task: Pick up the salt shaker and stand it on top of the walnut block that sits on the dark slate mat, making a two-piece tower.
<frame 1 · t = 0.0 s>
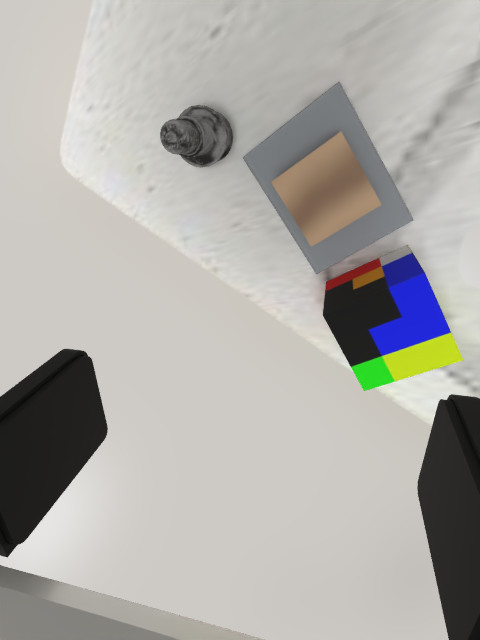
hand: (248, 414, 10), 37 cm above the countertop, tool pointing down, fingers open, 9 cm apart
puzzle toy: (382, 298, 46), on the countertop
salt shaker: (210, 137, 43), on the countertop
base block: (326, 188, 41), point 1 cm above the countertop, touching slate mat
slate mat: (326, 187, 42), on the countertop
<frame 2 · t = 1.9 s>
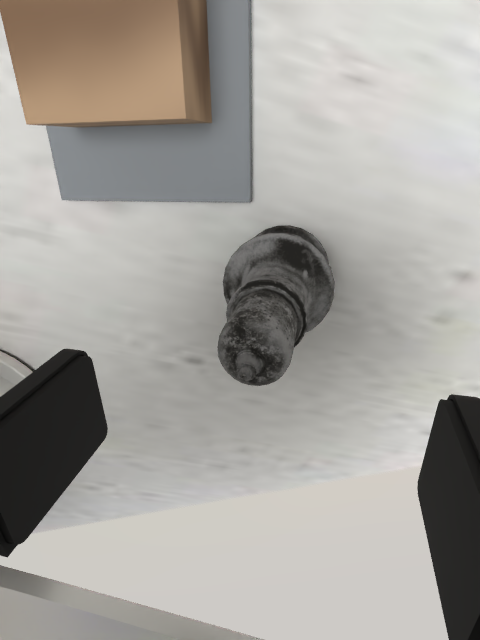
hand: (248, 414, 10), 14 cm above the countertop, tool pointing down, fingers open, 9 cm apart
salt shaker: (284, 268, 23), on the countertop
base block: (131, 35, 19), point 1 cm above the countertop, touching slate mat
slate mat: (136, 38, 19), on the countertop
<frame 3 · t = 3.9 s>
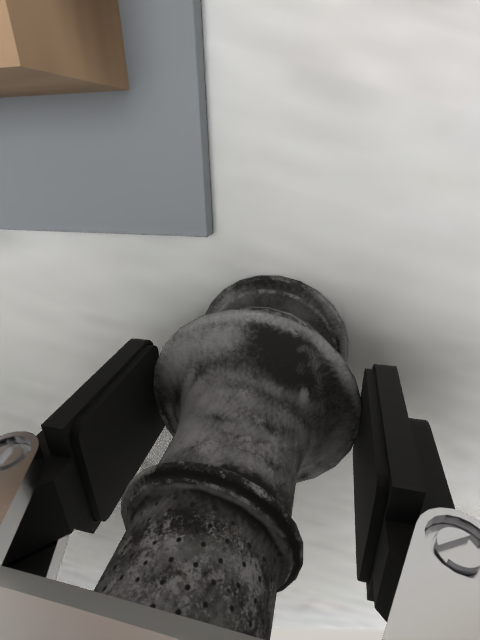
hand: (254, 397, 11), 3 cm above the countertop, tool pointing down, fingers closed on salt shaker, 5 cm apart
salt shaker: (272, 342, 14), on the countertop, touching gripper
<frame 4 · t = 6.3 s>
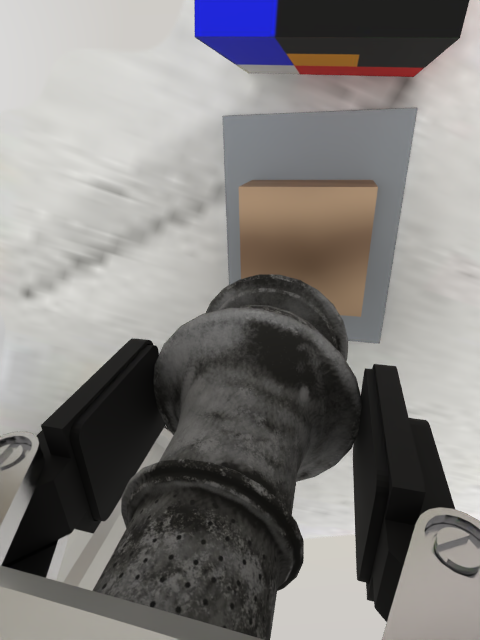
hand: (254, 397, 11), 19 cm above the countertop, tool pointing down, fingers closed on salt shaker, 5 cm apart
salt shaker: (272, 341, 14), point 16 cm above the countertop, touching gripper
base block: (307, 238, 27), point 1 cm above the countertop, touching slate mat
slate mat: (307, 236, 27), on the countertop
when the fingers open (9 cm above the countertop, at t = 9.0 s): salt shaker drops 1 cm, resting on base block.
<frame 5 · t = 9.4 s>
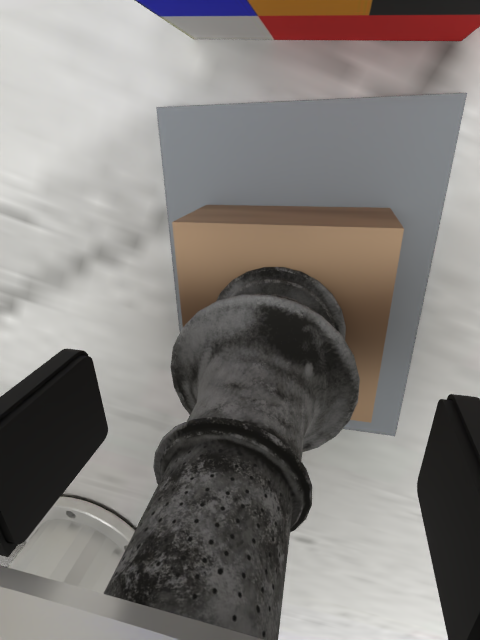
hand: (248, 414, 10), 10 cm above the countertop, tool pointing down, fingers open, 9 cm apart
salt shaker: (276, 329, 15), point 4 cm above the countertop, touching base block
base block: (289, 291, 18), point 1 cm above the countertop, touching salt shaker, slate mat
slate mat: (291, 286, 19), on the countertop
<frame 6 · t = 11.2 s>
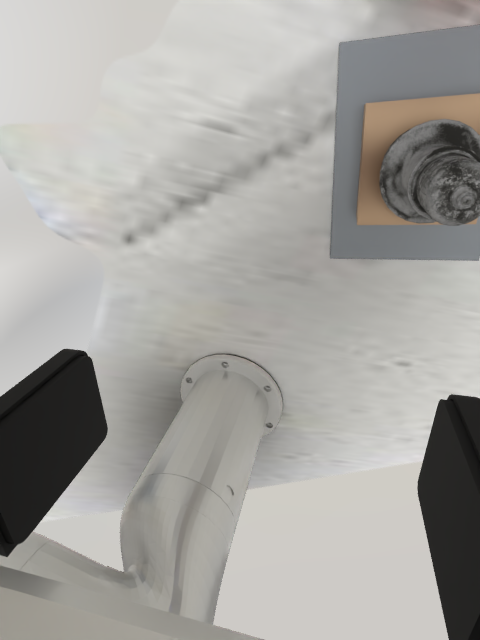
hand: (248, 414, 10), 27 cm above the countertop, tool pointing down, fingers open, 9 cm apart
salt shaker: (421, 167, 26), point 4 cm above the countertop, touching base block
base block: (414, 159, 29), point 1 cm above the countertop, touching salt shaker, slate mat
slate mat: (413, 159, 29), on the countertop
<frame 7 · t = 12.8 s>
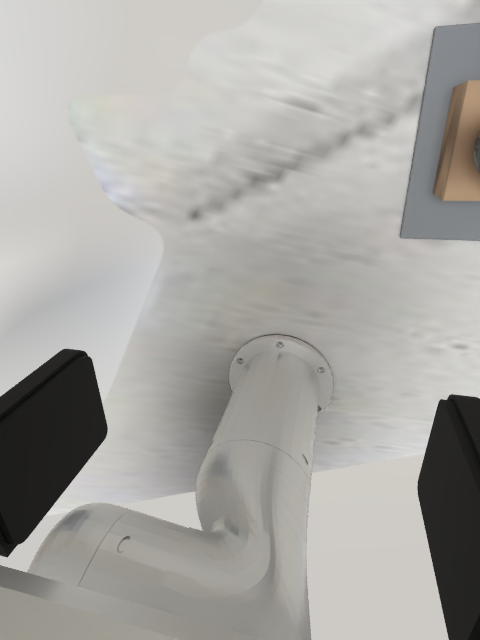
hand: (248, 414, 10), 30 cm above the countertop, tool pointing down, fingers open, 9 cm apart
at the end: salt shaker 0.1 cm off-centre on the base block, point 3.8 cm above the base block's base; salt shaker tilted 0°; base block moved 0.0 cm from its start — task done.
